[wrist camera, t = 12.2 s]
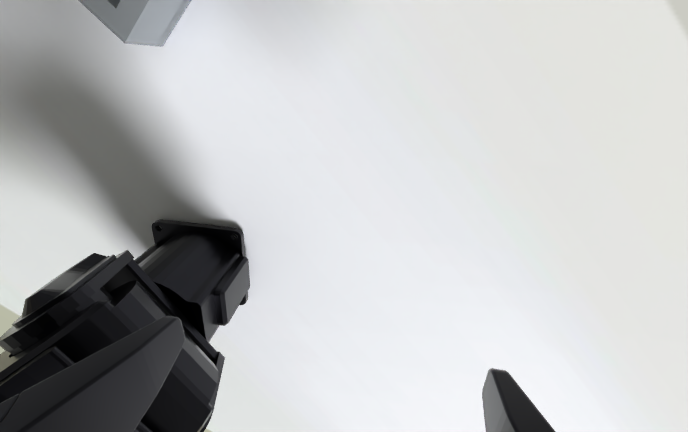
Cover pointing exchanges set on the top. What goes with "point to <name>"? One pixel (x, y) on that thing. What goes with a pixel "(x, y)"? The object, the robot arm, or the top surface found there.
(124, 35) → the tray
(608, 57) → the top surface
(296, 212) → the top surface
